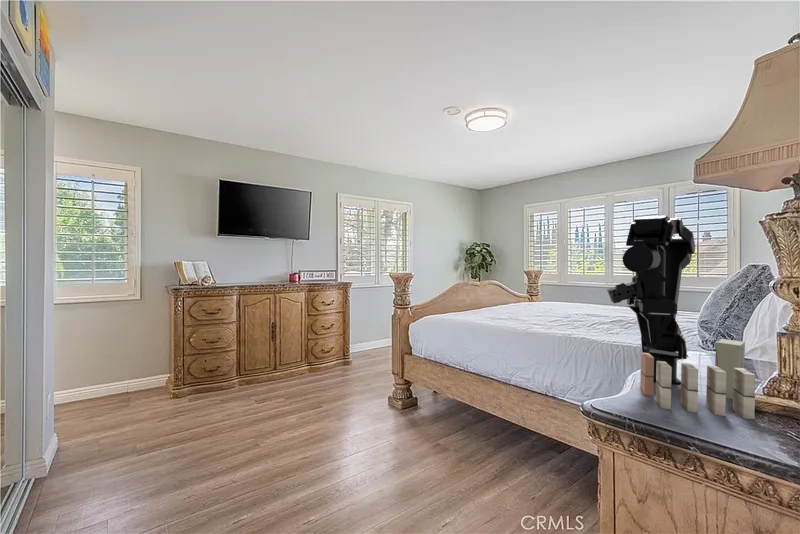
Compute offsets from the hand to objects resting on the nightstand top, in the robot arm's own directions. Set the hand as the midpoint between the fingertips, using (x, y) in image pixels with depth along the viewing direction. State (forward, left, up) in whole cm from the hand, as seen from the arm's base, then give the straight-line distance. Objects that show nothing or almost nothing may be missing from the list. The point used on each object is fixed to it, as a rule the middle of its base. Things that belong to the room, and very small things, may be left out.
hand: (648, 340), depth 91 cm
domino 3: (+8, +15, -12) cm, 21 cm away
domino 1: (0, 0, -12) cm, 12 cm away
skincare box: (-5, +17, -12) cm, 21 cm away
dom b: (+8, +1, -12) cm, 14 cm away
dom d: (+8, +10, -12) cm, 18 cm away
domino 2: (+8, +6, -12) cm, 15 cm away
